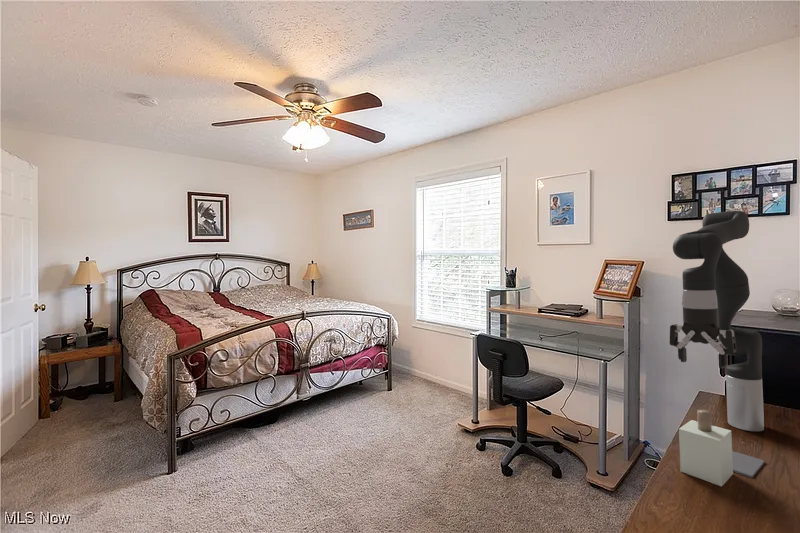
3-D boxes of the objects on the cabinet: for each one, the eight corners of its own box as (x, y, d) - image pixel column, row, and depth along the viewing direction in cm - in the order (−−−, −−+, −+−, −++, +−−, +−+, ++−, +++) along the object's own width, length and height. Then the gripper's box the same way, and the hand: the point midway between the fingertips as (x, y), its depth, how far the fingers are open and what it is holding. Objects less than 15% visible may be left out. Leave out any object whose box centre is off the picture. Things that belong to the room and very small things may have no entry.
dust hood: (693, 460, 109) (690, 402, 109) (733, 474, 102) (730, 412, 101) (680, 471, 104) (678, 410, 104) (721, 486, 97) (718, 421, 96)
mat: (712, 446, 116) (711, 444, 116) (764, 462, 106) (764, 460, 106) (697, 459, 109) (697, 457, 109) (752, 478, 99) (751, 475, 99)
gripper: (738, 306, 98) (740, 367, 99) (675, 303, 110) (677, 357, 110) (728, 309, 94) (731, 373, 94) (664, 305, 106) (666, 362, 106)
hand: (702, 364), depth 102 cm, fingers open, 8 cm apart
